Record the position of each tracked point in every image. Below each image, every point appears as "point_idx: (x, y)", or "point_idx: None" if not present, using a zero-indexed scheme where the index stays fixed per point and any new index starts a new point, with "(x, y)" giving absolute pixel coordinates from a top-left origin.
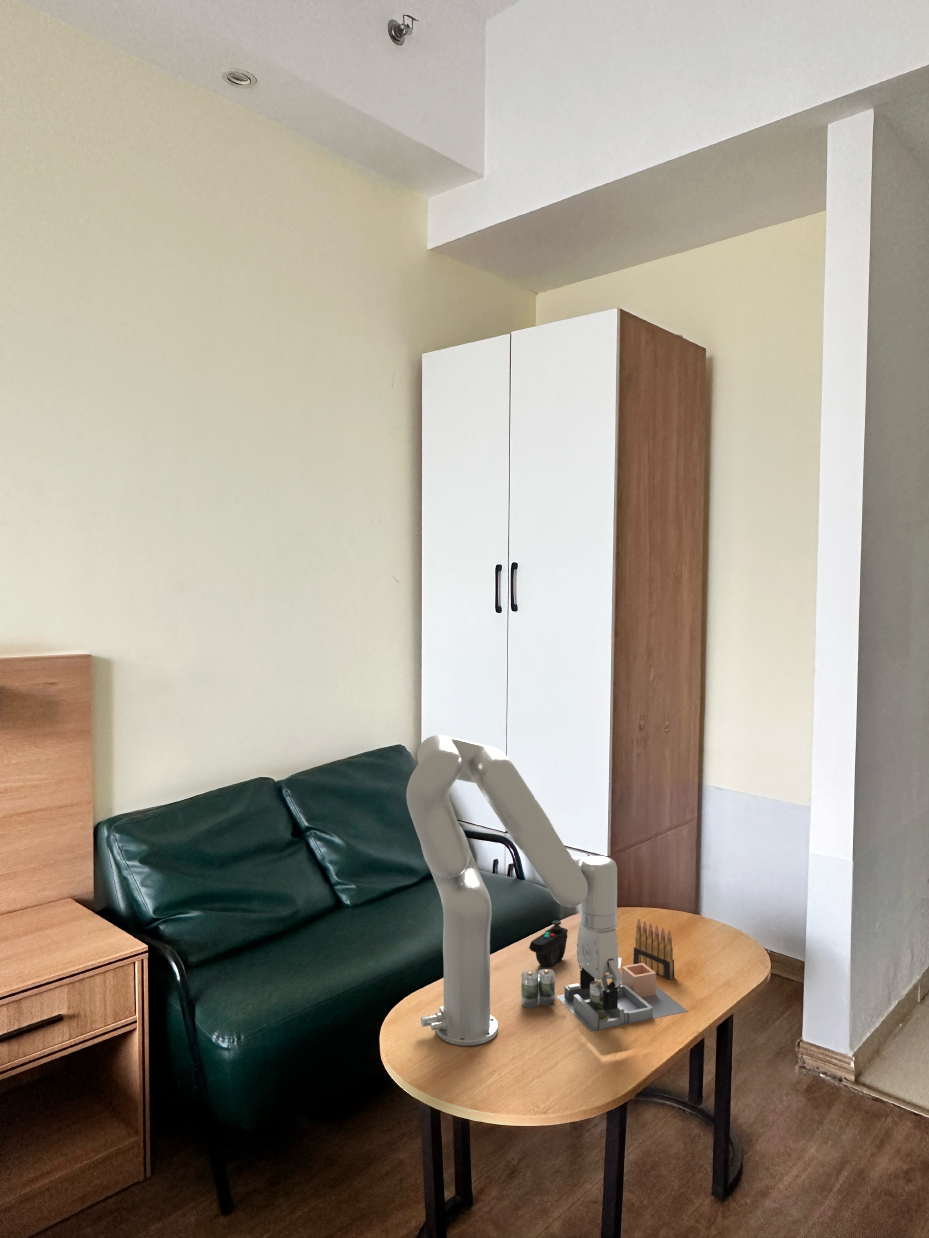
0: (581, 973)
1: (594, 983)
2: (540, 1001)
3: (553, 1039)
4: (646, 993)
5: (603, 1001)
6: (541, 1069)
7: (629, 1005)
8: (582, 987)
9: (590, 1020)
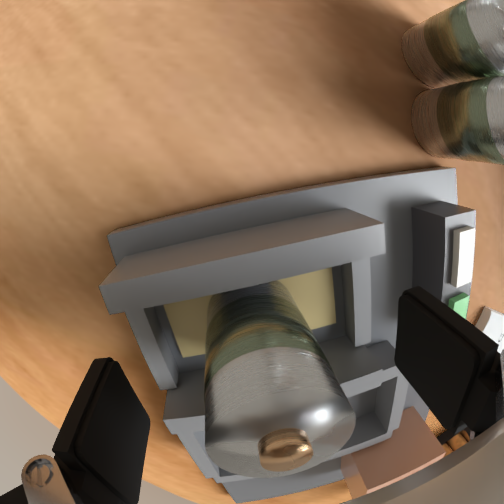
0: (472, 344)
1: (306, 420)
2: (432, 89)
3: (117, 55)
4: (343, 461)
5: (81, 392)
6: None
7: None
8: (405, 299)
9: (152, 257)
